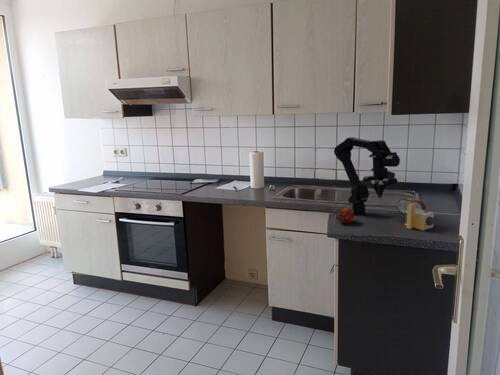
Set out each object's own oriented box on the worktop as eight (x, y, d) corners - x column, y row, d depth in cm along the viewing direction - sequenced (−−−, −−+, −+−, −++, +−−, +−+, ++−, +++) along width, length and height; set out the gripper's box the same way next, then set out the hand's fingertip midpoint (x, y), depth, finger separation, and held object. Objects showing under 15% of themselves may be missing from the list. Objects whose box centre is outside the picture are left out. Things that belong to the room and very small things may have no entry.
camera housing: (404, 224, 184) (405, 209, 183) (414, 222, 188) (415, 207, 186) (425, 230, 175) (426, 214, 173) (435, 227, 178) (436, 211, 177)
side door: (406, 227, 179) (407, 204, 177) (411, 226, 181) (412, 203, 178) (420, 231, 173) (421, 207, 171) (425, 230, 174) (426, 206, 172)
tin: (425, 217, 196) (426, 200, 194) (422, 218, 194) (423, 201, 192) (399, 211, 208) (400, 196, 206) (396, 212, 206) (396, 197, 204)
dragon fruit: (337, 228, 188) (349, 226, 197) (350, 220, 183) (362, 218, 192) (329, 213, 191) (341, 211, 200) (342, 204, 186) (354, 203, 194)
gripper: (405, 165, 184) (406, 197, 186) (378, 163, 202) (379, 193, 204) (387, 167, 180) (388, 200, 182) (361, 166, 197) (362, 196, 199)
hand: (380, 197), depth 192 cm, fingers closed
